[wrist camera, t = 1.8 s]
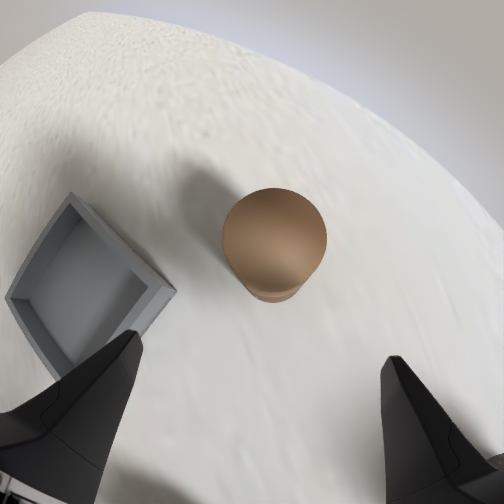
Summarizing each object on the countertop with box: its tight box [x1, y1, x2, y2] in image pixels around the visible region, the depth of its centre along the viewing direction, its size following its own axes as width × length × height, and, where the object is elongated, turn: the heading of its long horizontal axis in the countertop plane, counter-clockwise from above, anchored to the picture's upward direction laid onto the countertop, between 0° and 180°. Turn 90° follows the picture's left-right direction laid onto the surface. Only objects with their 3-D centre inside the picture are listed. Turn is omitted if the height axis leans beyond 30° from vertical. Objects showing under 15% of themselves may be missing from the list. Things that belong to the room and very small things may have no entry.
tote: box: [5, 192, 177, 382], centre depth 22 cm, size 14×14×4 cm
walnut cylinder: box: [222, 188, 327, 303], centre depth 18 cm, size 5×5×10 cm
